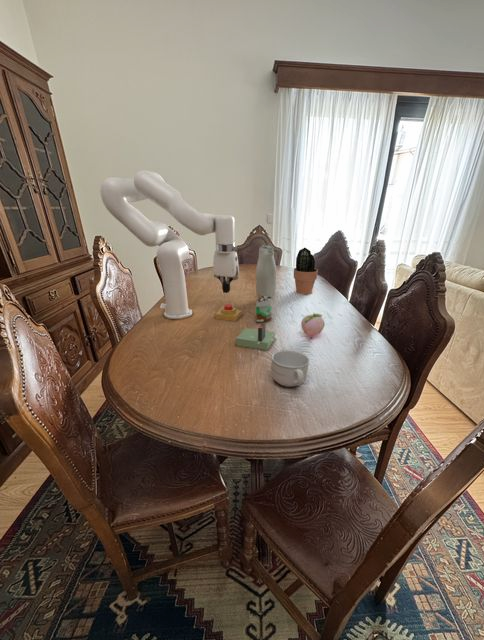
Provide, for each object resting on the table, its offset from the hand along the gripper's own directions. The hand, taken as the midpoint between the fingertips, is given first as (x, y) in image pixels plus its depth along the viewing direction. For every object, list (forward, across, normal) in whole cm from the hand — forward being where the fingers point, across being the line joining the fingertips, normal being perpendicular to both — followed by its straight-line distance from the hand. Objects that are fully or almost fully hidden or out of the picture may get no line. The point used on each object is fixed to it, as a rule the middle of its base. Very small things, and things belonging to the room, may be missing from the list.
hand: (226, 292), depth 125 cm
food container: (+12, -18, -2) cm, 21 cm away
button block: (+12, -1, 0) cm, 12 cm away
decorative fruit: (+11, -40, +9) cm, 42 cm away
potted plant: (+11, -27, -51) cm, 59 cm away
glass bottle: (+12, -10, -30) cm, 33 cm away
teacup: (+11, -38, +44) cm, 59 cm away
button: (+8, -1, 0) cm, 8 cm away
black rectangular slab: (+8, -24, +23) cm, 34 cm away
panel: (+11, -21, +22) cm, 32 cm away
